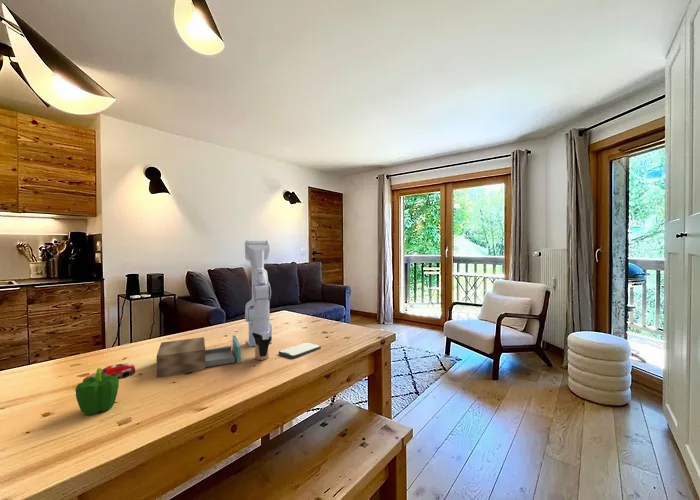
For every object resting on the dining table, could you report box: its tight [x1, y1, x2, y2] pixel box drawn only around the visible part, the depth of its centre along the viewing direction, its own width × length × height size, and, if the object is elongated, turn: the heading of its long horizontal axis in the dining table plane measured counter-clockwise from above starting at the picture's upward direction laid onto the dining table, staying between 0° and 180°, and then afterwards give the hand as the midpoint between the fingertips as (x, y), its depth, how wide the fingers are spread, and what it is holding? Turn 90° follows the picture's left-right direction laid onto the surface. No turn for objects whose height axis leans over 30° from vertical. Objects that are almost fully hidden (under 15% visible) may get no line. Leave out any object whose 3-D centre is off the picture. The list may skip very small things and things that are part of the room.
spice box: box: [155, 336, 206, 378], centre depth 108 cm, size 14×16×7 cm
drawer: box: [205, 335, 242, 368], centre depth 113 cm, size 14×16×6 cm
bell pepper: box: [75, 367, 120, 416], centre depth 78 cm, size 8×8×10 cm
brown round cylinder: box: [254, 344, 269, 361], centre depth 114 cm, size 5×5×5 cm
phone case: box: [278, 342, 322, 360], centre depth 122 cm, size 9×2×16 cm
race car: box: [82, 363, 137, 382], centre depth 97 cm, size 13×5×4 cm, turn 140°
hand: (261, 353), depth 114 cm, fingers closed on brown round cylinder, 5 cm apart
